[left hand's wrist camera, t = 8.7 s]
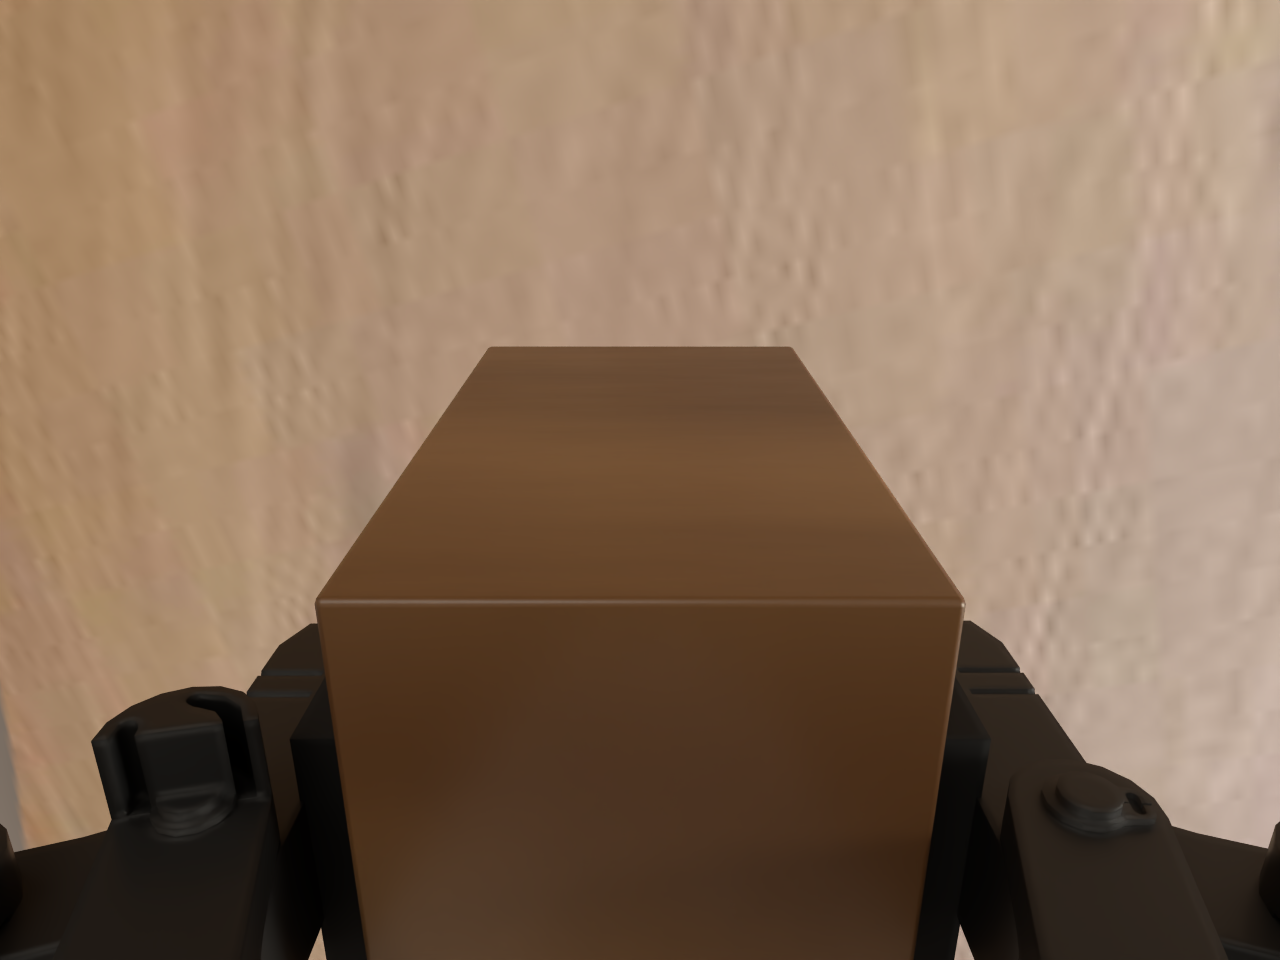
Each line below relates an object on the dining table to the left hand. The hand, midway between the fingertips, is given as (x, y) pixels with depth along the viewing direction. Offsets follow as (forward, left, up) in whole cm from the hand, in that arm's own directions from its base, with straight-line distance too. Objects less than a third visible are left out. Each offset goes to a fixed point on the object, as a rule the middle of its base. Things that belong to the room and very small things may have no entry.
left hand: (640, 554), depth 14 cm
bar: (+9, +2, -1) cm, 10 cm away
